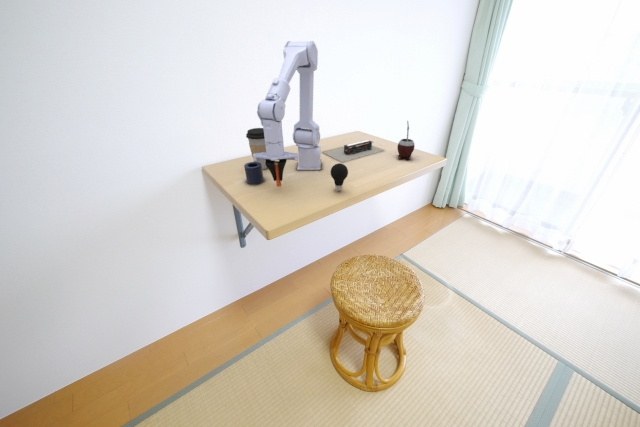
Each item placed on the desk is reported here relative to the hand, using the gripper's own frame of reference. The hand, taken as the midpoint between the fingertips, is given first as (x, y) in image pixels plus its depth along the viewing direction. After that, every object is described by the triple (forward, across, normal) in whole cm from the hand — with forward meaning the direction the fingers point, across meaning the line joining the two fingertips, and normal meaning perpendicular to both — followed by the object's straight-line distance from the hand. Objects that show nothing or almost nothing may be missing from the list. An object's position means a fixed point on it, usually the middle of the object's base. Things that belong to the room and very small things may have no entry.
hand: (278, 179), depth 90 cm
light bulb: (+4, +21, -1) cm, 21 cm away
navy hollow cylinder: (+4, -10, +7) cm, 13 cm away
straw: (+2, 0, 0) cm, 2 cm away
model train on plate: (+4, +30, +39) cm, 49 cm away
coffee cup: (+4, -10, +21) cm, 24 cm away
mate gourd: (+4, +52, +31) cm, 61 cm away
